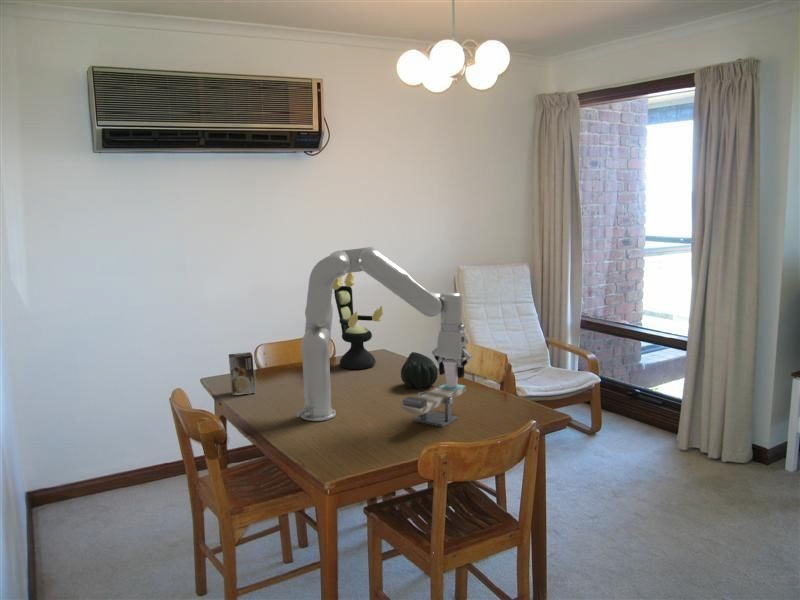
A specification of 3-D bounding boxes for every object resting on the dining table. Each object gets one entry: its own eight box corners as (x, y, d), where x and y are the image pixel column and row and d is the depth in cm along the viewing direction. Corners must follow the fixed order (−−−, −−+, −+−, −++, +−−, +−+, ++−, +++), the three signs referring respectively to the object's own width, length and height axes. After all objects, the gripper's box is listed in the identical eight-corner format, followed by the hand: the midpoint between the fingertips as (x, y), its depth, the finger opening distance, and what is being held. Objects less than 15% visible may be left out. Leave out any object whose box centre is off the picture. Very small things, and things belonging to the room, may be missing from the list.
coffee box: (253, 389, 274) (251, 351, 271) (255, 394, 268) (253, 355, 265) (230, 392, 271) (228, 353, 268) (232, 396, 265) (229, 357, 262)
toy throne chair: (358, 373, 296) (355, 272, 288) (322, 366, 309) (318, 270, 302) (385, 364, 310) (382, 268, 303) (349, 357, 324) (346, 265, 317)
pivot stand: (444, 427, 225) (444, 402, 224) (411, 420, 233) (410, 395, 231) (459, 419, 233) (459, 394, 232) (427, 412, 241) (426, 388, 239)
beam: (421, 415, 218) (421, 403, 217) (401, 410, 223) (401, 399, 222) (466, 391, 241) (466, 380, 240) (447, 388, 246) (447, 377, 245)
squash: (447, 376, 268) (432, 344, 275) (415, 383, 261) (401, 350, 268) (434, 391, 279) (420, 361, 286) (403, 399, 272) (390, 367, 278)
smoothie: (459, 383, 244) (459, 346, 241) (461, 388, 237) (461, 350, 235) (442, 383, 244) (441, 346, 241) (443, 389, 237) (443, 351, 235)
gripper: (477, 327, 235) (477, 376, 238) (436, 323, 245) (436, 369, 248) (467, 331, 229) (467, 381, 232) (425, 326, 239) (425, 374, 242)
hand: (451, 375), depth 240 cm, fingers open, 7 cm apart
